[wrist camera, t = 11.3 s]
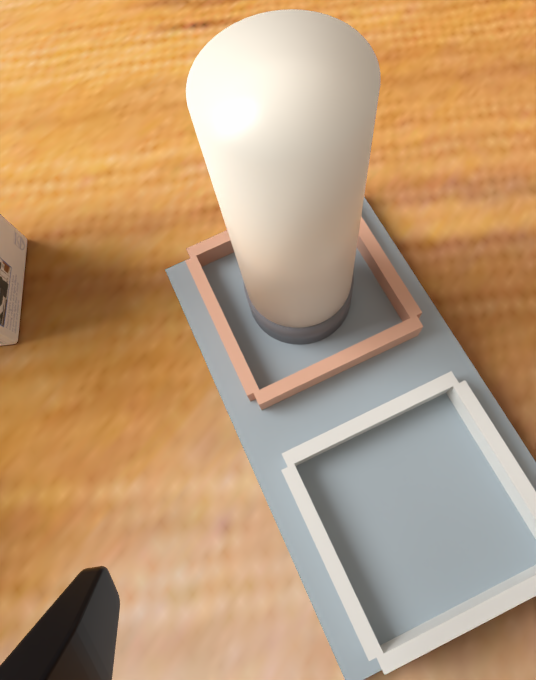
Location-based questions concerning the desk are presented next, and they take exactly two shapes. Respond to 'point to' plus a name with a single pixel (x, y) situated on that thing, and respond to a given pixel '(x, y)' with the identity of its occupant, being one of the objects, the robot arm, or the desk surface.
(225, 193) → the white cylinder
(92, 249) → the desk surface
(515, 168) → the desk surface
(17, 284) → the light bulb box
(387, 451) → the socket board
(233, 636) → the desk surface
